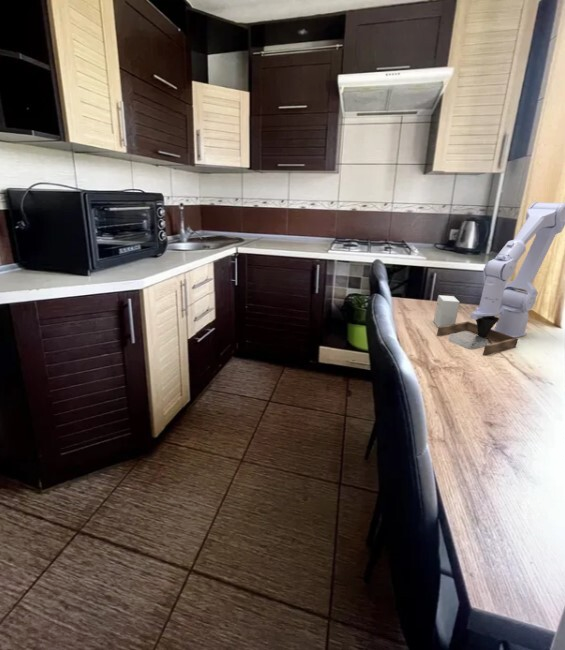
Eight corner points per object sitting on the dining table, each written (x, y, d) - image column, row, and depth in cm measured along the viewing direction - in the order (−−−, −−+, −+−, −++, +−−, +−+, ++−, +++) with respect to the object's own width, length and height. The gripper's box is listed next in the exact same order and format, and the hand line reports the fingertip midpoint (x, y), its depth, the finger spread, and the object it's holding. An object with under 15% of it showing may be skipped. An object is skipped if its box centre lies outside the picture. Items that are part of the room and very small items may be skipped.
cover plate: (464, 338, 117) (466, 331, 117) (486, 347, 111) (488, 339, 110) (448, 341, 114) (449, 334, 113) (469, 350, 107) (471, 343, 106)
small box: (454, 329, 124) (460, 301, 120) (437, 328, 125) (443, 300, 121) (448, 322, 131) (454, 295, 127) (433, 321, 132) (438, 294, 128)
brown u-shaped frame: (466, 329, 124) (467, 321, 123) (515, 347, 110) (518, 338, 109) (436, 335, 118) (438, 327, 117) (485, 355, 103) (487, 346, 102)
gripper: (493, 292, 117) (484, 329, 121) (465, 296, 110) (456, 335, 115) (514, 297, 111) (504, 336, 116) (486, 302, 104) (476, 343, 109)
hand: (481, 336), depth 115 cm, fingers closed
